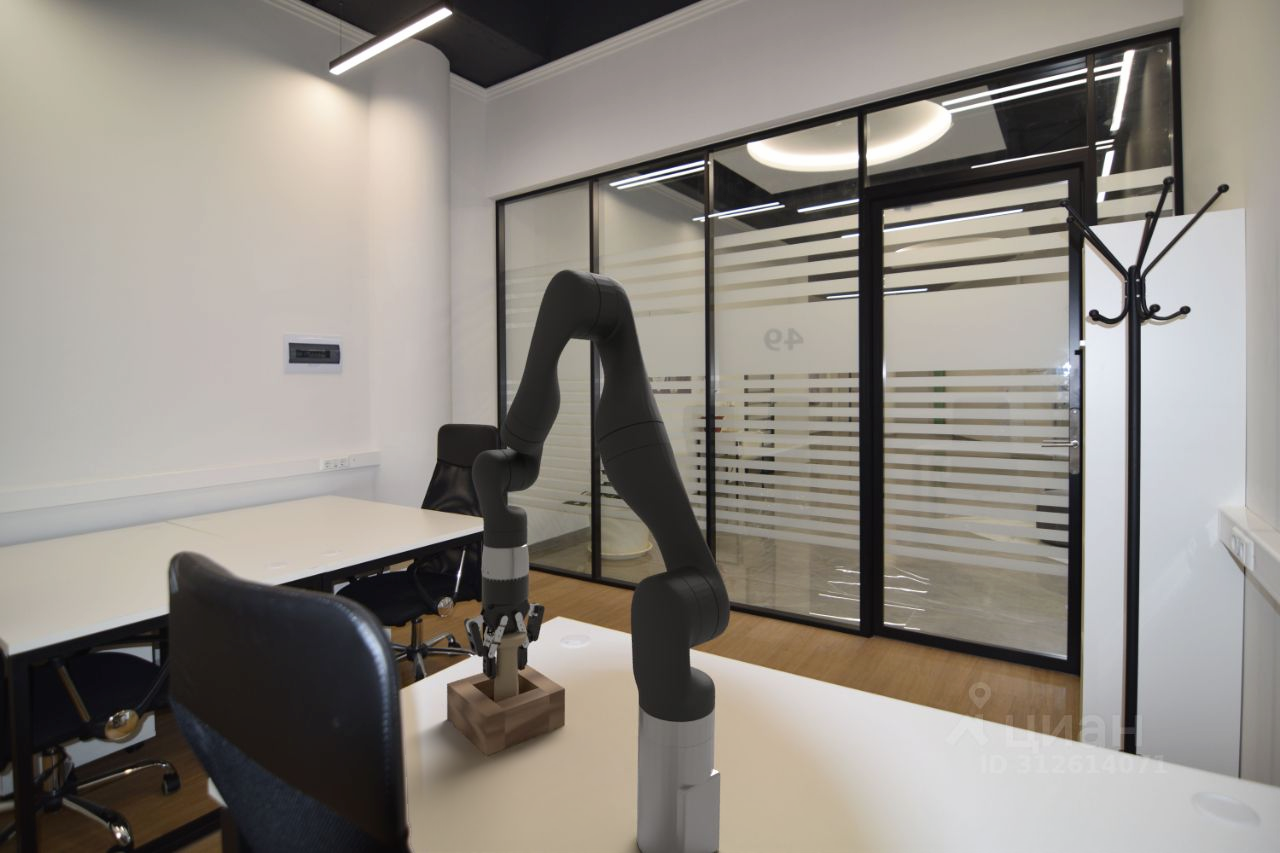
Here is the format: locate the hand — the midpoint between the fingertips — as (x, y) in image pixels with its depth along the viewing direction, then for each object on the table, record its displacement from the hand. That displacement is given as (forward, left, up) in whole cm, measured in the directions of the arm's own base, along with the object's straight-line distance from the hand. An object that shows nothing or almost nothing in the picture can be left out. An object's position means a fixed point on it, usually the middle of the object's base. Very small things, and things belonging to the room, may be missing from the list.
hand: (505, 672), depth 103 cm
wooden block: (0, 0, -8) cm, 8 cm away
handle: (0, 0, -9) cm, 9 cm away
